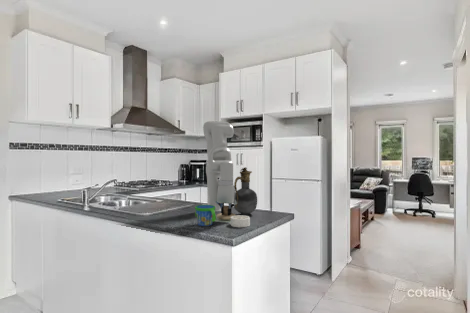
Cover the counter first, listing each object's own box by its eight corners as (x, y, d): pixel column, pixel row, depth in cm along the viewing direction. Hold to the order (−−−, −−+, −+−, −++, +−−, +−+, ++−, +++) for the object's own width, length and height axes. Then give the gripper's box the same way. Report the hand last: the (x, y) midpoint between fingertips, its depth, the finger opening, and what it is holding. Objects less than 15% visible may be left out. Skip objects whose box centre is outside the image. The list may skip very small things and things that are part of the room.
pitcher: (259, 214, 183) (259, 166, 183) (242, 220, 168) (242, 168, 167) (244, 212, 190) (245, 166, 189) (227, 218, 174) (227, 167, 174)
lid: (213, 218, 165) (213, 207, 164) (220, 214, 175) (220, 203, 175) (232, 220, 161) (232, 209, 161) (238, 215, 172) (238, 205, 171)
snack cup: (221, 226, 153) (221, 207, 153) (204, 230, 147) (204, 209, 147) (206, 221, 166) (206, 203, 166) (189, 223, 159) (189, 205, 159)
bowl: (228, 227, 152) (228, 218, 152) (234, 222, 162) (234, 214, 161) (246, 228, 149) (246, 220, 149) (251, 224, 158) (251, 216, 158)
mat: (212, 222, 163) (212, 221, 163) (220, 217, 175) (220, 216, 175) (233, 223, 160) (233, 222, 160) (239, 219, 171) (239, 218, 171)
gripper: (210, 183, 166) (210, 215, 167) (238, 184, 161) (237, 217, 162) (215, 181, 173) (215, 212, 174) (242, 182, 168) (241, 214, 169)
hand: (226, 214), depth 168 cm, fingers closed on lid, 3 cm apart
